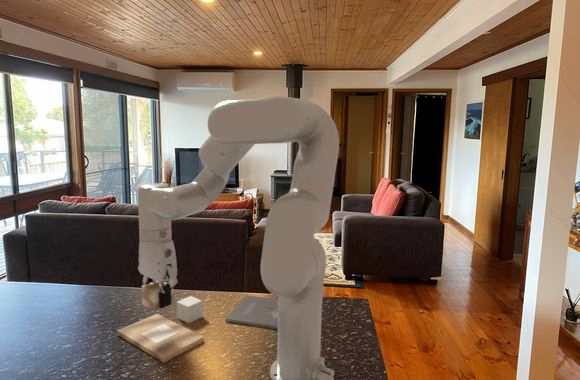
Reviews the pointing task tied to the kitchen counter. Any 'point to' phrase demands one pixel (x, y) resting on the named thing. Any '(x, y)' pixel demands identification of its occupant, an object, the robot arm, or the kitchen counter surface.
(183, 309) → the white cube
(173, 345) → the base board
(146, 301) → the maple block
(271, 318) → the play button award
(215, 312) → the kitchen counter surface
